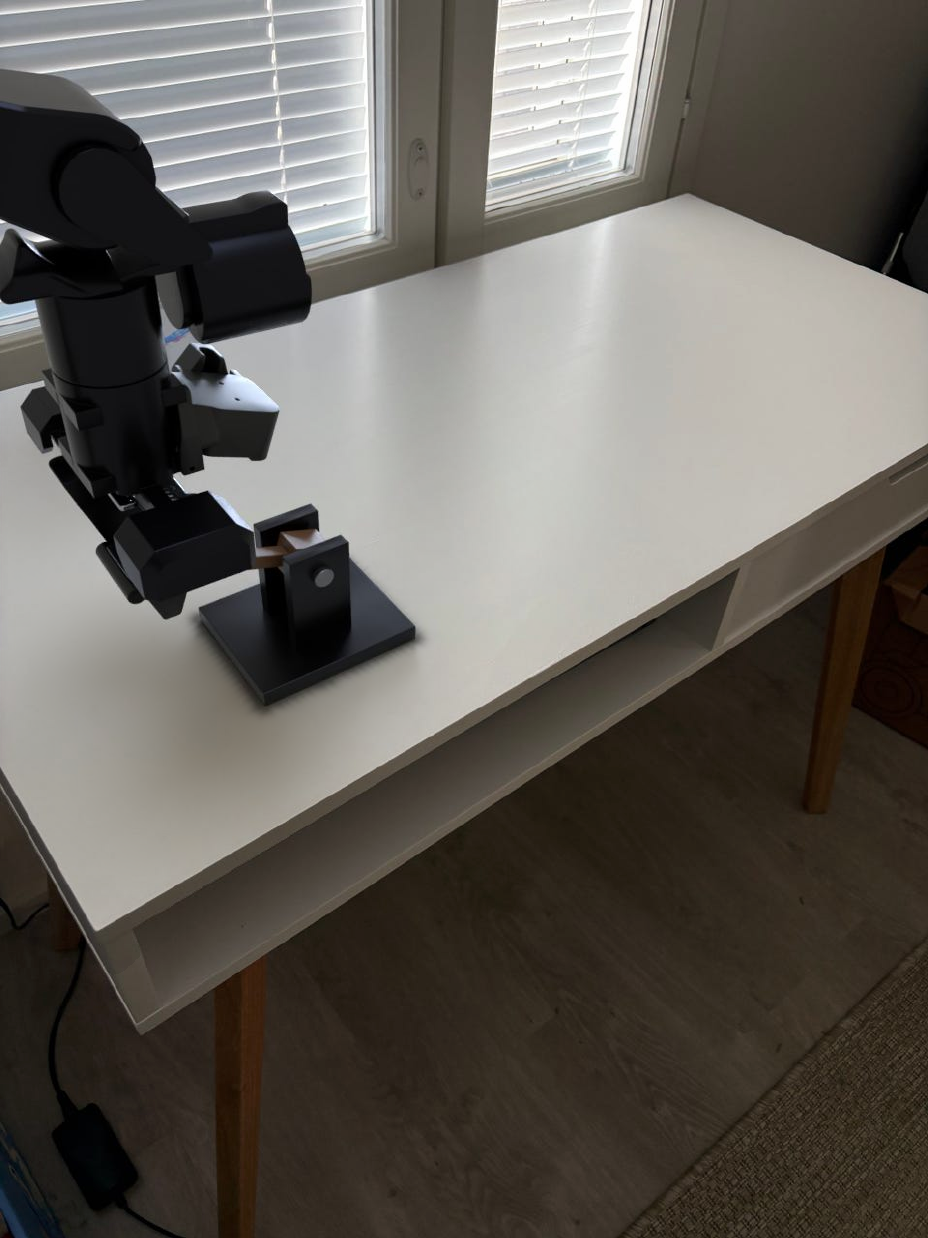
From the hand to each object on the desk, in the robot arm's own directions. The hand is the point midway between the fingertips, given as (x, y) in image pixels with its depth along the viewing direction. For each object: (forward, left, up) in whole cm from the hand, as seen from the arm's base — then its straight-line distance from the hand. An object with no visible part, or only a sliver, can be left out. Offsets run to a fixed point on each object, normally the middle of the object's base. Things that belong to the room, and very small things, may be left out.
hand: (153, 590), depth 62 cm
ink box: (+7, +41, -9) cm, 42 cm away
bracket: (+10, +3, -9) cm, 13 cm away
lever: (+4, +1, -1) cm, 4 cm away
